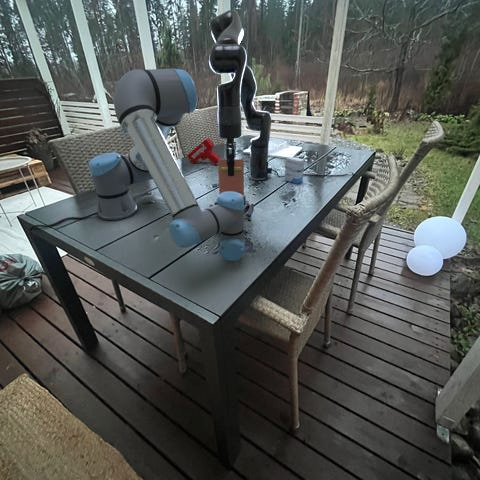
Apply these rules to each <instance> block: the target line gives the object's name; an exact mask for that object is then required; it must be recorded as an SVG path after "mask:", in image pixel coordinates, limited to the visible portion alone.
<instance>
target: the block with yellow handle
mask: <svg viewBox="0 0 480 480" xmlns="http://www.w3.org/2000/svg"><path fill="white" fill-rule="evenodd" d="M244 161H245V160H244V159H243V158H242V159H239V158H237V159H236V158H235V159H234V163H235V164H234V176H228V165H227V159H219V160H218V163H217V164H218V167H217V168H218V193H219V194H218V195H220V194H221V193H223V192H229V191H232V192H237V193H240V194H241V195H242V196H245V162H244Z"/></svg>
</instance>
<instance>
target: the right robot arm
mask: <svg viewBox="0 0 480 480" xmlns="http://www.w3.org/2000/svg"><path fill="white" fill-rule="evenodd" d="M209 29H210V33H211V36H212V38H213V40H214V43H213V44H212V46H211V48H210V50H209V55H208V63H209V67H210V69H211V70H212V71H213V73H215V74H218V75H229V77H230V81H227V82H223V83H220V84H219V85H218V86H217V89H216V91H217V93H216V94H217V127H218V128H217V130H218V137H219V138H220V139H224V140H225V139H226V141H224V144H223V145H224V147H223V148H224V151H225V152H224V153H225V154H224V155H225V159H226V160H227V165H228V176H234V164H235V163H234V159H236V157H237V154H236V153H237V152H236V151H237V141H235V140H236V139H239V138H241V137H242V132H243V131H242V110H243V114H244V118H245V121H246V122H245V123H246V125H247V127H248V129H249V130H250V131H253V132H259V135H258V136H257V137H254V138H251V139H250V146H251V148H250V154H249V157H250V158H249V160H250V161H249V165H250V166H249V167H250V168H249V178H250V180H253V181H256V182H257V181H265V180H268V179H269V175H271V174H273V172H274V173H275V174H276V177H278V178H285V175H282V176H280V175H279V172H278V171H277V170H276V169H273V168H272V165H271V164H269V156H268V145H269V139H271V129H272V115H271V113H270V112H269V111H264V110H257V109H256V107H255V105H254V100H255V97H256V94H257V93H256V92H257V81H256V78H255V76H254V73H253V70H252V69H251V67H250V66H248V65H247V51H246V49H245V47H244V46H243V45H242V44H240V43H241V41H242V40H243V37H244V26H243V23H242V19H241V16H240V14H239V13H238V11H237V10H236V9H229V10H226V11H225V12H223V13H221V14H218V15H217V16H215V17H213V18H211V19H210V21H209ZM241 107H242V108H241ZM351 173H352V174H351V175H352V176H355V174H354V172H351ZM348 175H349V174H347V173H344V174H314V173H313V174H311V173H303V176H310V177H329V178H330V177H331V178H333V177H345V176H348Z"/></svg>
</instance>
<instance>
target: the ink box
mask: <svg viewBox="0 0 480 480" xmlns="http://www.w3.org/2000/svg"><path fill="white" fill-rule="evenodd" d="M305 162H306V159H304V158H299V157H296V156H294V157H289V158H287V159H286V158H285V169H284V176H285V177H284V181H285V182H289V183H293V184H295V185H298V184H300V183H302V182H303V180H304V175H303V174H304V173H305V171H304V170H305Z"/></svg>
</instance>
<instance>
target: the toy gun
mask: <svg viewBox="0 0 480 480" xmlns="http://www.w3.org/2000/svg"><path fill="white" fill-rule="evenodd" d="M213 148H215V143H214V142H212V140H211V138H209V137H208V138H205V139H204V140H203V141H201V143H199V144H198V145H196V147H195V148H194V149H193V150H191V151H190V152H189V153H188V154H187V155H186V157H187V159H188V160H189V161H190V162H191V163H192V164H194V163H197V162H198V161H199V160H200V159H201V160H202V161H205V160H209V161H210V162H211V163H212V165H213V166H215V165H217V164H218V160H221V156H220V155H218V154H217V153H216V152H214V151H213Z"/></svg>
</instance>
